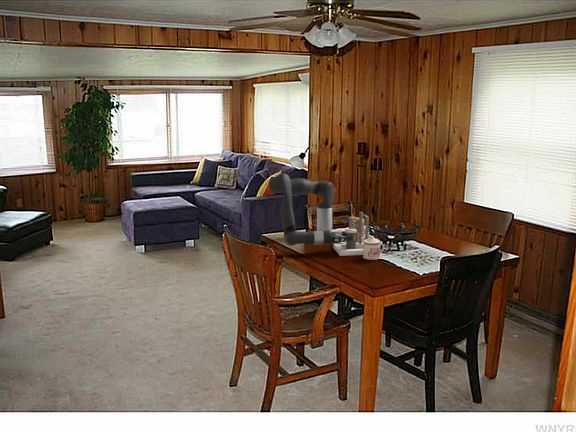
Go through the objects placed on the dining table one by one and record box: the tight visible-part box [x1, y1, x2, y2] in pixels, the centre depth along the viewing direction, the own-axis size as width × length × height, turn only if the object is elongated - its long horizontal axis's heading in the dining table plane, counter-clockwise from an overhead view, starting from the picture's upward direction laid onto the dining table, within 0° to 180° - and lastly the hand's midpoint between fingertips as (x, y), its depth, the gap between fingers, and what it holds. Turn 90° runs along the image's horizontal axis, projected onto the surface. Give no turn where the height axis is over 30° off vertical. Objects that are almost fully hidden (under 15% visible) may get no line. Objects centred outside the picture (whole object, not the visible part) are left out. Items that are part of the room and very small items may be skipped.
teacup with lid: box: [362, 235, 385, 261], centre depth 297 cm, size 12×9×12 cm
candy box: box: [348, 216, 365, 243], centre depth 326 cm, size 9×4×15 cm, turn 39°
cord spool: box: [344, 228, 357, 250], centre depth 310 cm, size 6×6×12 cm
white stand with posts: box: [333, 211, 370, 257], centre depth 309 cm, size 16×20×21 cm
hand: (350, 236), depth 309 cm, fingers open, 8 cm apart
